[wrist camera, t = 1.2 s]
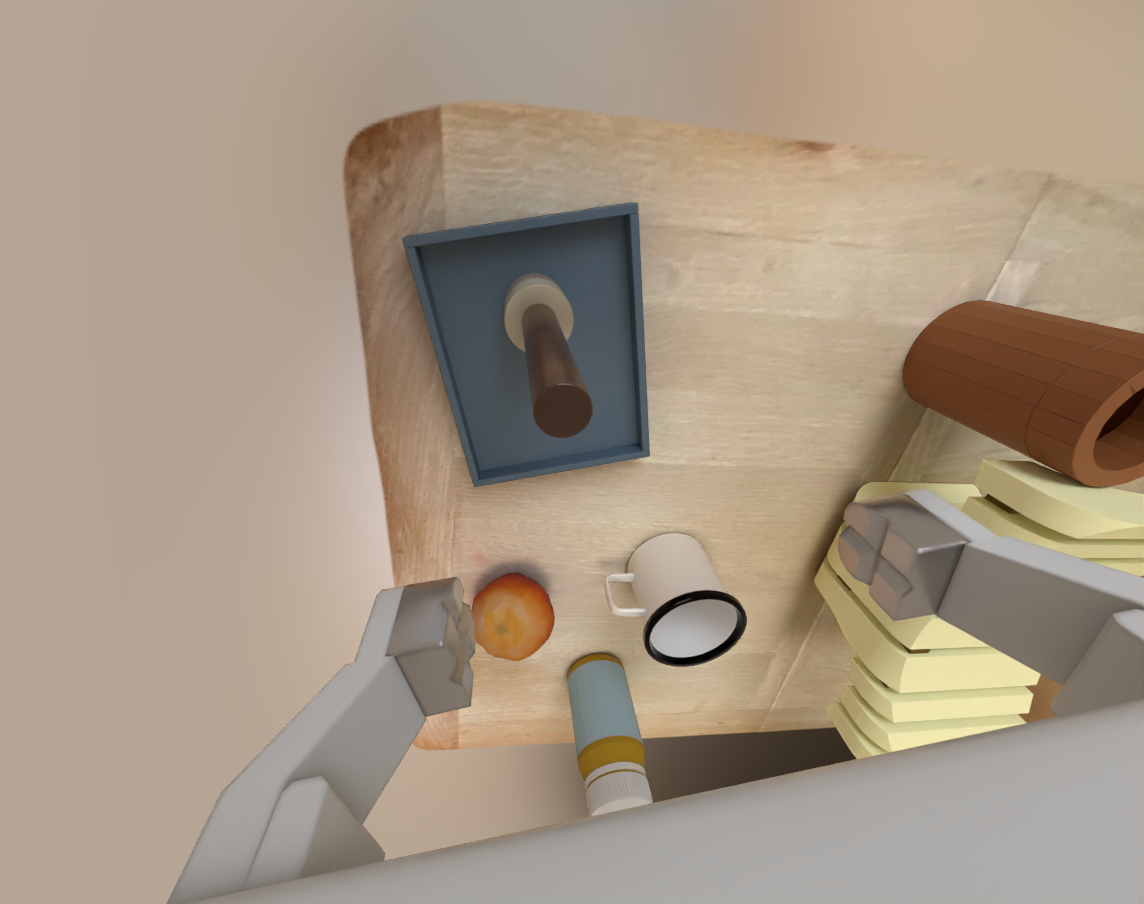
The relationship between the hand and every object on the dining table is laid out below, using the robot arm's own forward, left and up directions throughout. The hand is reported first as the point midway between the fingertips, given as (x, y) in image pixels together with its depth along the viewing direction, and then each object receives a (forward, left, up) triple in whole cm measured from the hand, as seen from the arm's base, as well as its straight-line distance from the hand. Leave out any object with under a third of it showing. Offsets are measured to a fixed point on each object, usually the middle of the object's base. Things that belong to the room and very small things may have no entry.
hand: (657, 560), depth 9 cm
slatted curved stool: (+30, +33, -28) cm, 52 cm away
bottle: (+44, -1, -28) cm, 52 cm away
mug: (+28, +7, -28) cm, 40 cm away
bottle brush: (0, -1, -27) cm, 27 cm away
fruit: (+28, -8, -28) cm, 40 cm away
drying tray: (+4, -1, -28) cm, 28 cm away
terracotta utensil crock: (+10, +35, -28) cm, 46 cm away
